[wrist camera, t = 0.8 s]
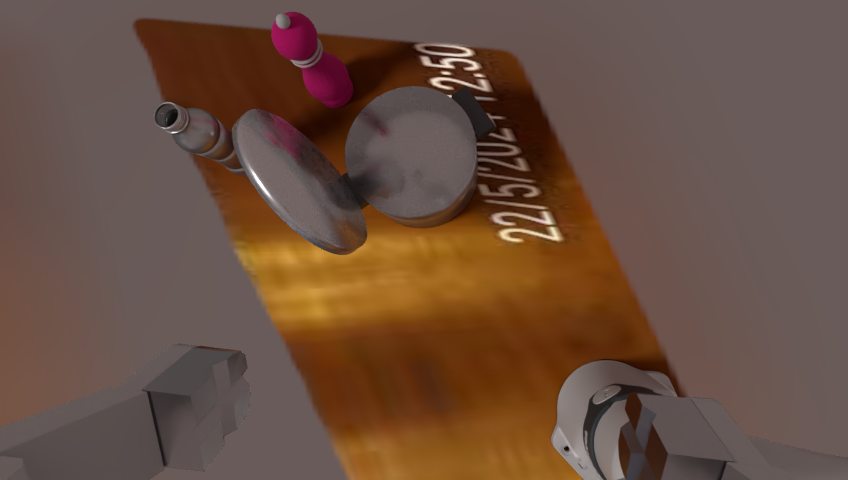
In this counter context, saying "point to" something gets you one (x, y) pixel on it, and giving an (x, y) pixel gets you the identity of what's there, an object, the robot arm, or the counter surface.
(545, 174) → the counter surface
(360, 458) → the counter surface
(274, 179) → the cooker lid
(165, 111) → the silver metal bottle
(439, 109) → the cooker pot
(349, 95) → the pepper mill
